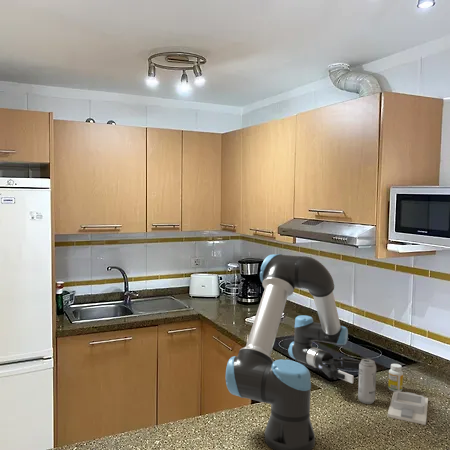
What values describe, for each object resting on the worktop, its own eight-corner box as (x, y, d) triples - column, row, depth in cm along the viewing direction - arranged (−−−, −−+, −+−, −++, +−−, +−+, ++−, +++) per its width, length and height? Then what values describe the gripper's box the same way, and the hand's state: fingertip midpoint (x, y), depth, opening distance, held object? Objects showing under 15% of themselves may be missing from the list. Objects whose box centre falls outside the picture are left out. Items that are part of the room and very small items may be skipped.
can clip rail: (425, 425, 146) (426, 414, 146) (387, 416, 151) (387, 406, 151) (427, 400, 165) (428, 391, 165) (393, 394, 170) (394, 385, 170)
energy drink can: (373, 406, 159) (374, 365, 159) (356, 402, 162) (357, 361, 162) (376, 399, 165) (377, 360, 164) (359, 396, 168) (361, 357, 167)
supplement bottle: (391, 392, 172) (392, 367, 171) (385, 386, 177) (386, 363, 177) (405, 391, 172) (406, 367, 172) (398, 386, 178) (399, 362, 177)
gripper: (339, 362, 189) (383, 378, 173) (298, 374, 174) (342, 393, 157) (339, 345, 189) (383, 359, 172) (299, 355, 174) (343, 372, 157)
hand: (364, 375), depth 165 cm, fingers open, 13 cm apart
